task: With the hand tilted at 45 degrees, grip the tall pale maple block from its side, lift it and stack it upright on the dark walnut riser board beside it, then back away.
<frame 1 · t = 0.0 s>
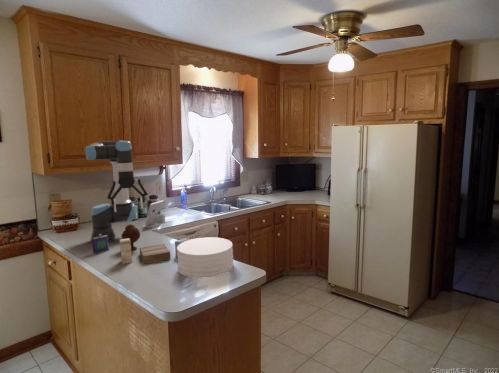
hand: (128, 210, 184), 28 cm above the worktop, tool pointing down, fingers open, 13 cm apart
phone holder: (154, 224, 263), on the worktop
medicine box: (183, 255, 194), on the worktop
plate stack: (206, 267, 176), on the worktop
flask: (101, 251, 204), on the worktop
maple block: (126, 261, 186), on the worktop
walnut riser: (154, 256, 192), on the worktop
ice cream bowl: (132, 249, 206), on the worktop
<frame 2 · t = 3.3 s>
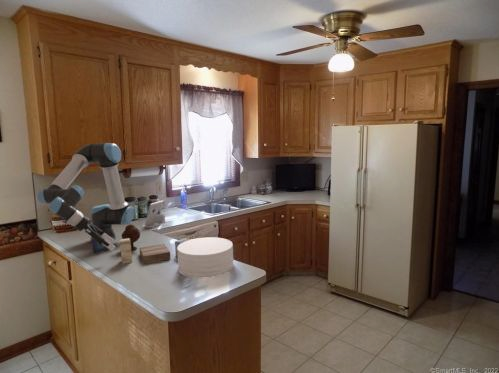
hand: (113, 245, 181), 10 cm above the worktop, tool tilted 45°, fingers open, 13 cm apart
nothing on the worktop moved.
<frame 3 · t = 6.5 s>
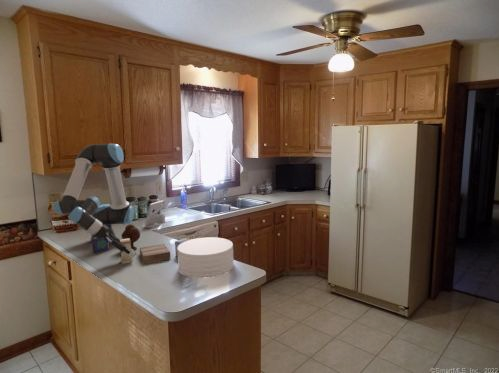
hand: (133, 254, 187), 3 cm above the worktop, tool tilted 45°, fingers closed on maple block, 5 cm apart
maple block: (126, 261, 186), on the worktop, touching gripper
everything else where it was.
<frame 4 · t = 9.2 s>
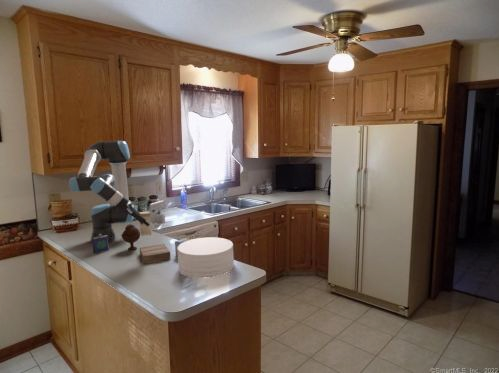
hand: (152, 227, 189), 17 cm above the worktop, tool tilted 45°, fingers closed on maple block, 5 cm apart
maple block: (145, 234, 188), point 14 cm above the worktop, touching gripper
everything else where it was.
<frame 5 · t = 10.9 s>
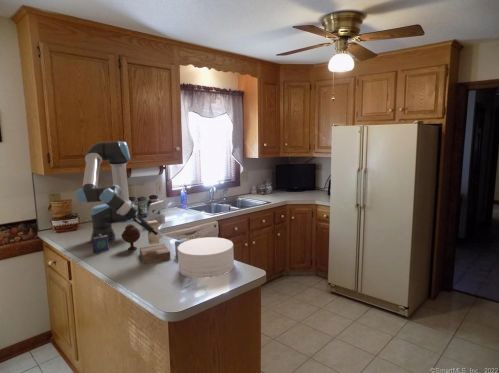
hand: (160, 236, 192), 11 cm above the worktop, tool tilted 45°, fingers closed on maple block, 5 cm apart
maple block: (153, 242, 191), point 8 cm above the worktop, touching gripper
everything else where it was.
when the fingers open (9 cm above the worktop, at t = 12.2 s): maple block drops 1 cm, resting on walnut riser.
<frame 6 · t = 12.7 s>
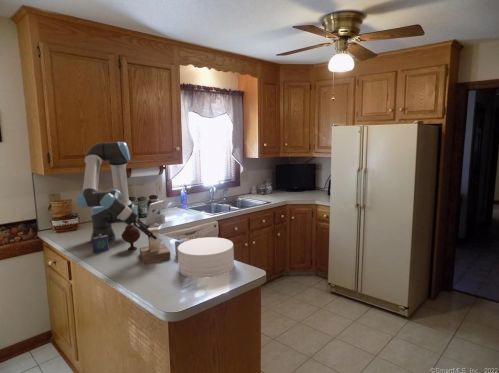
hand: (158, 238, 192), 10 cm above the worktop, tool tilted 45°, fingers open, 12 cm apart
maple block: (154, 249, 192), point 4 cm above the worktop, touching walnut riser
everything else where it was.
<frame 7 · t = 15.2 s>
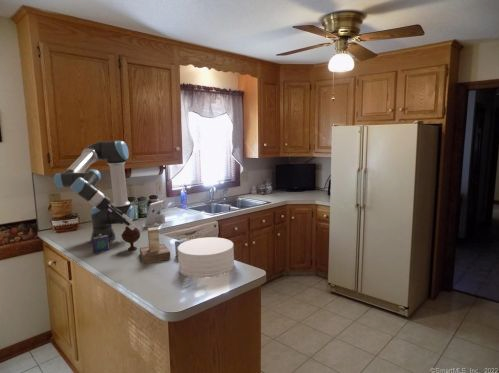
hand: (132, 225, 185), 20 cm above the worktop, tool tilted 45°, fingers open, 13 cm apart
nothing on the worktop moved.
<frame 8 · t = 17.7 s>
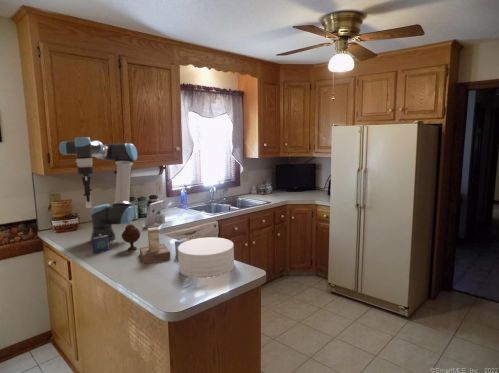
hand: (88, 205, 186), 31 cm above the worktop, tool pointing down, fingers open, 13 cm apart
nothing on the worktop moved.
at the end: maple block inside the target area on the walnut riser (0.0 cm from its centre), point 4.0 cm above the walnut riser's base; maple block tilted 0°; the gripper is holding nothing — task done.
